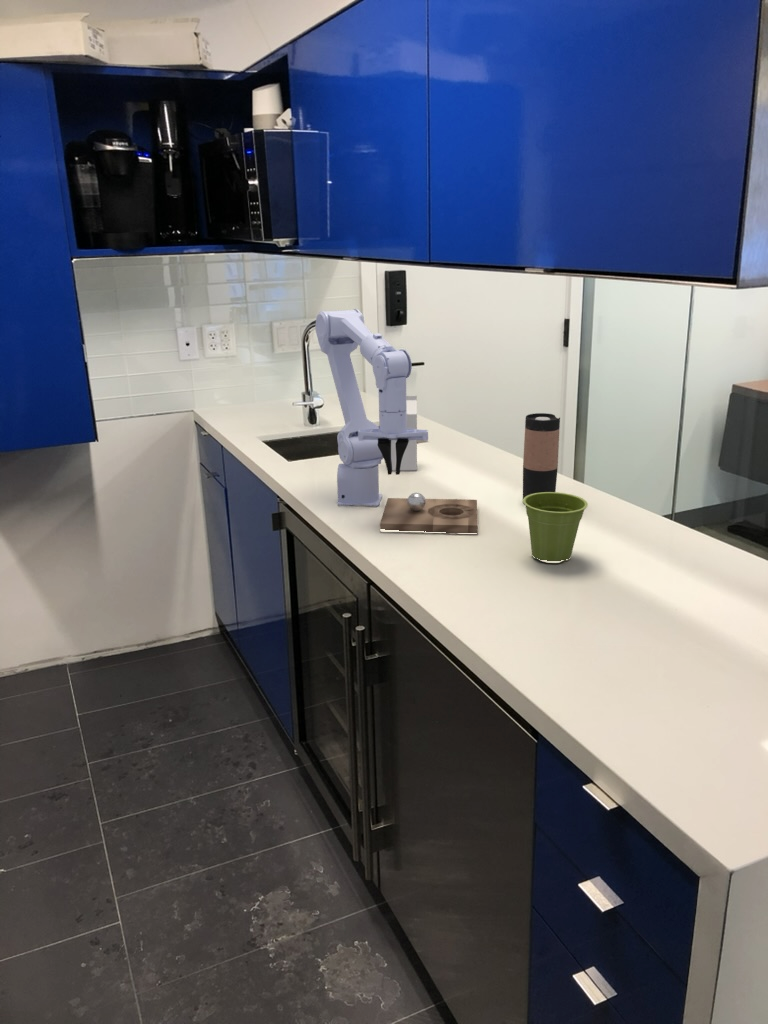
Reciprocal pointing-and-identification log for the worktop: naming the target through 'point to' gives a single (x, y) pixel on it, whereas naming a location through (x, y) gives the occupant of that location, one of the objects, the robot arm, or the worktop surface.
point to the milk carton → (411, 450)
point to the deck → (431, 516)
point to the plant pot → (553, 523)
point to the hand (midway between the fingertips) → (393, 473)
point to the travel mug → (540, 453)
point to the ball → (416, 501)
